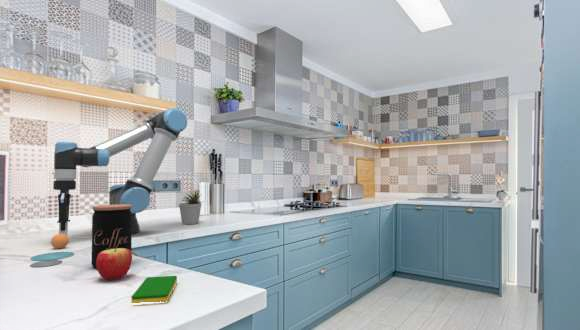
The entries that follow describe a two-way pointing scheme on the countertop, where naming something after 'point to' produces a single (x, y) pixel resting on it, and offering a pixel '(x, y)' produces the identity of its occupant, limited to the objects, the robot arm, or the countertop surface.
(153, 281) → the dish sponge
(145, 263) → the countertop surface
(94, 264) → the coffee jar
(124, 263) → the apple
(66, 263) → the countertop surface
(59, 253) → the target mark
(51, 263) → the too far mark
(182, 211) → the potted plant
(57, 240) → the ball
